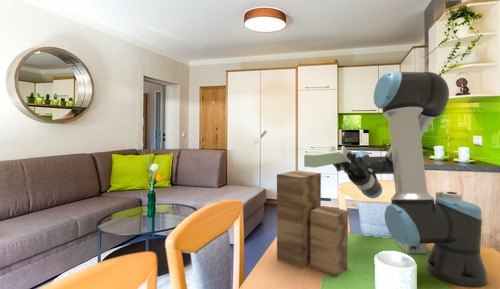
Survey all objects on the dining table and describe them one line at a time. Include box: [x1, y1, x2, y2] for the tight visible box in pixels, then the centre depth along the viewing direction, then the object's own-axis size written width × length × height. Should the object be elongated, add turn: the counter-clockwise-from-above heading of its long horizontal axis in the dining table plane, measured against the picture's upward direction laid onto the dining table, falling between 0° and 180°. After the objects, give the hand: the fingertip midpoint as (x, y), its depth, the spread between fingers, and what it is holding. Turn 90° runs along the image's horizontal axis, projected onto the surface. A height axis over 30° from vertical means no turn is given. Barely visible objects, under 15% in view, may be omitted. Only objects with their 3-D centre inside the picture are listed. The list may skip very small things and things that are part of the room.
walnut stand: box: [276, 170, 349, 278], centre depth 97 cm, size 12×20×30 cm, turn 46°
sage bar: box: [303, 149, 352, 169], centre depth 93 cm, size 24×4×4 cm, turn 136°
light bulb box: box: [394, 239, 427, 255], centre depth 110 cm, size 11×7×11 cm, turn 179°
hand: (336, 149), depth 96 cm, fingers closed on sage bar, 3 cm apart
